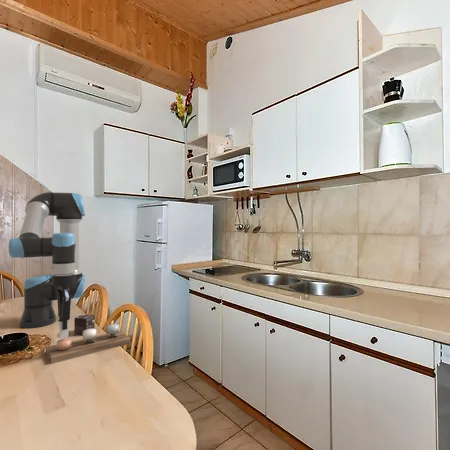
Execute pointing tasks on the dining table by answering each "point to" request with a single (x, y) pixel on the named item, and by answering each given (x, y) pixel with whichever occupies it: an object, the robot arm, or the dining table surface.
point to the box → (83, 323)
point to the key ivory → (89, 334)
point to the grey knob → (112, 329)
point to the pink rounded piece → (63, 344)
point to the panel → (87, 346)
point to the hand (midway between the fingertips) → (63, 337)
